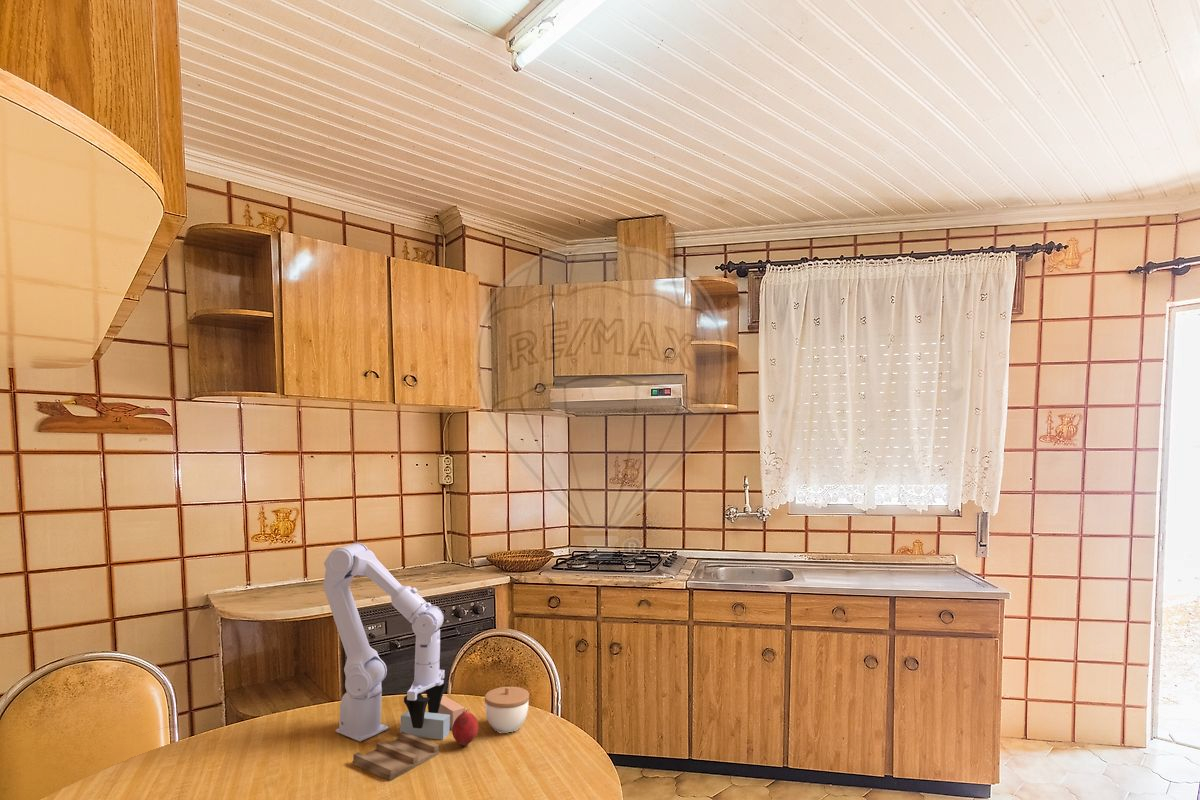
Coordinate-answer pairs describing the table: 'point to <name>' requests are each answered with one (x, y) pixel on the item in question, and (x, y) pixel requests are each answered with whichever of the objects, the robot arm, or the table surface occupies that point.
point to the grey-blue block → (427, 725)
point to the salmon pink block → (450, 709)
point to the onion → (465, 728)
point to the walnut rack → (396, 756)
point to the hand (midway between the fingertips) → (425, 720)
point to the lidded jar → (506, 708)
